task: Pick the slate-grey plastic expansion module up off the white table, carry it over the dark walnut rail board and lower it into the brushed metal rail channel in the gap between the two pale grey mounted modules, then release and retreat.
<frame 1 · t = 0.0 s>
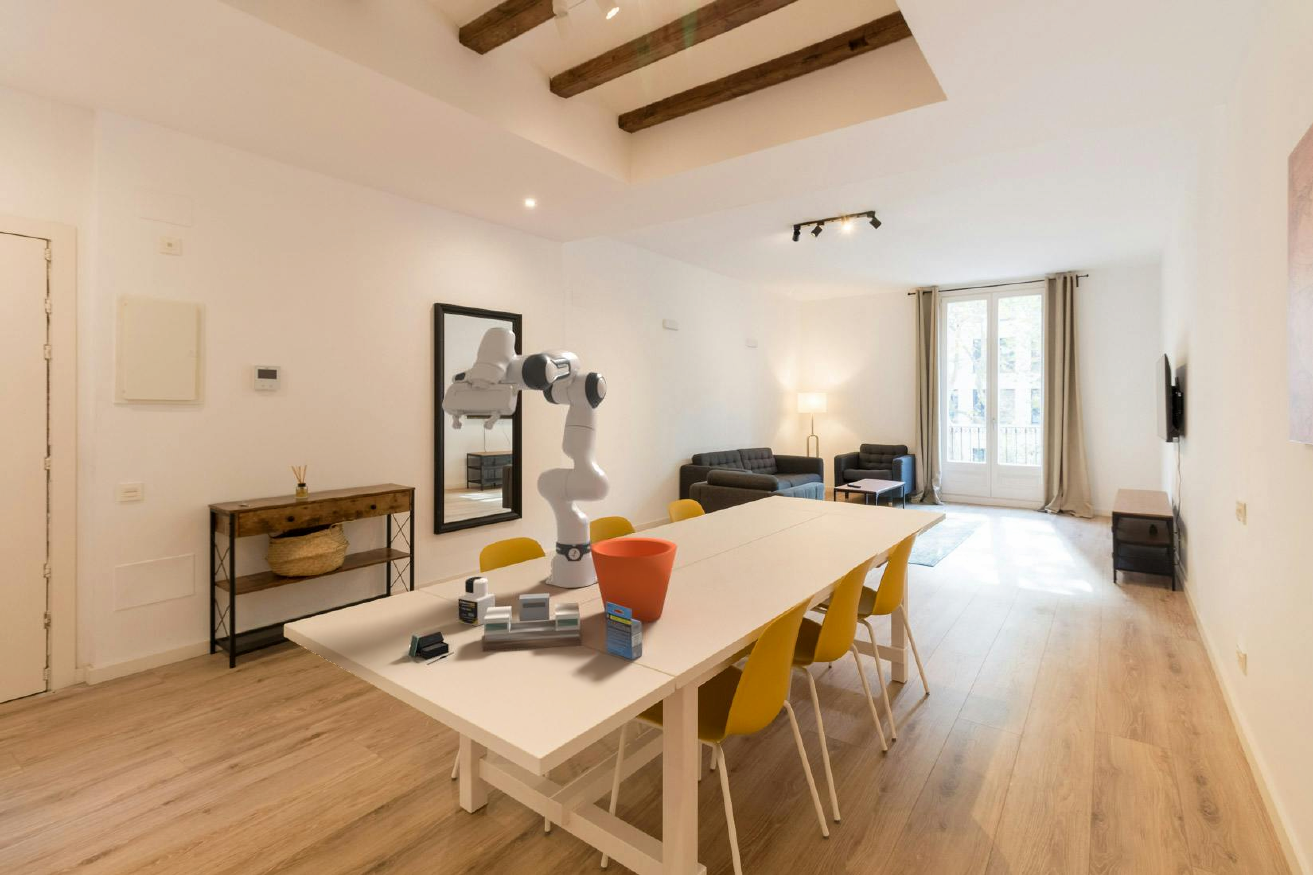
hand: (471, 428, 156), 54 cm above the table, tool tilted 30°, fingers open, 8 cm apart
expansion module: (534, 624, 170), on the table
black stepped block: (432, 655, 150), on the table
label tape box: (623, 654, 150), on the table
medicine bottle: (477, 621, 173), on the table
rail board: (533, 639, 159), on the table
flowerpot: (633, 614, 178), on the table
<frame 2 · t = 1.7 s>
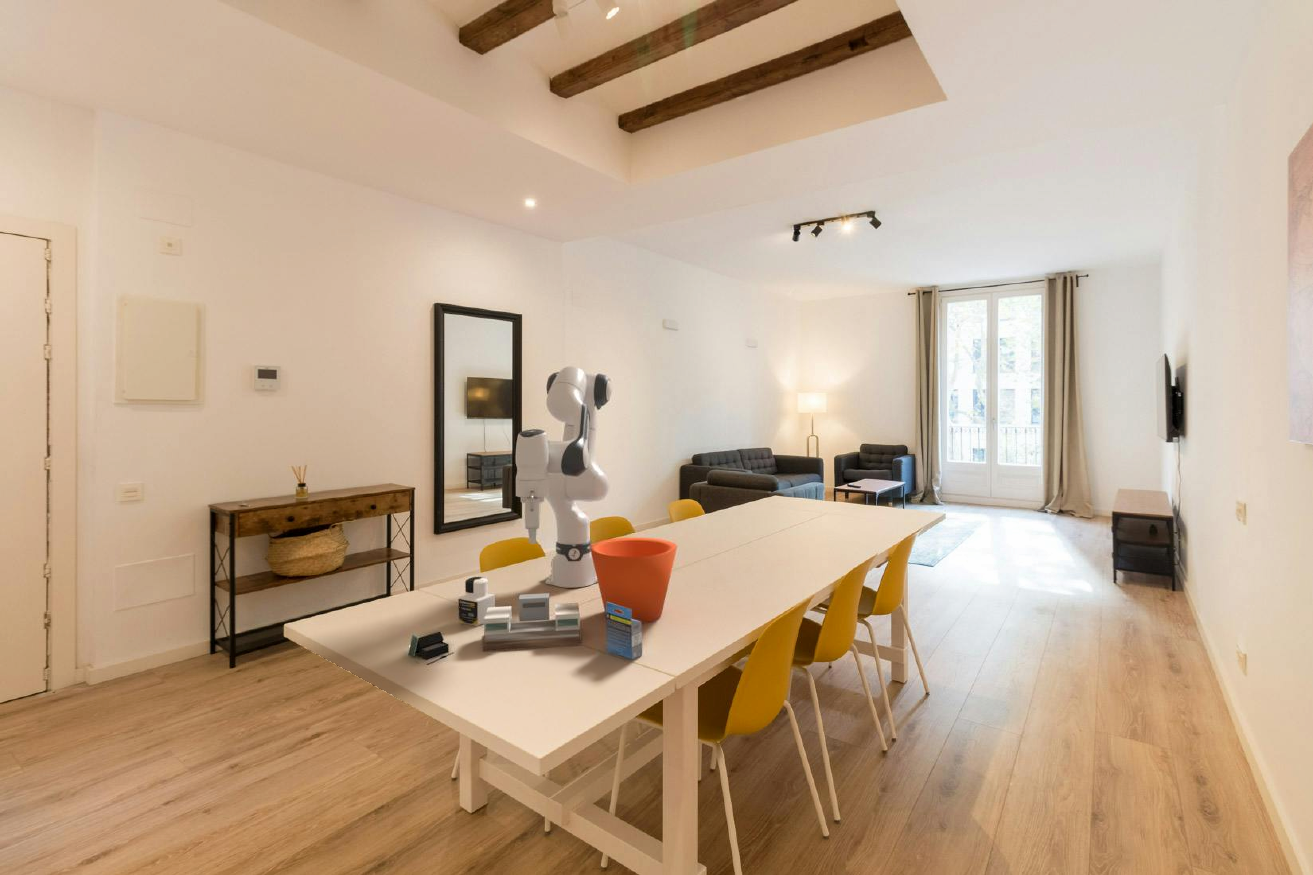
hand: (532, 539, 169), 24 cm above the table, tool pointing down, fingers open, 8 cm apart
nothing on the table moved.
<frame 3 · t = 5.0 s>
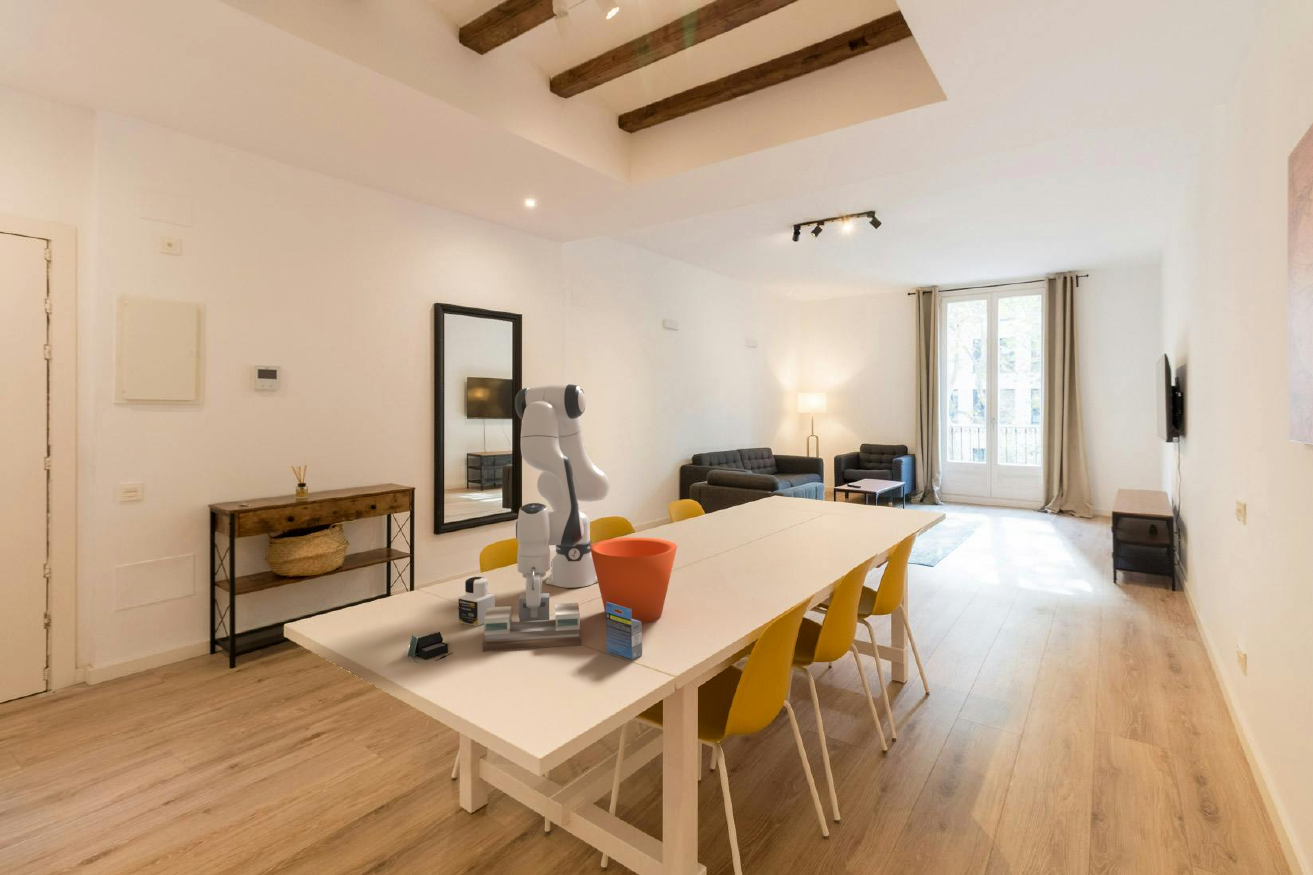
hand: (534, 613, 170), 3 cm above the table, tool pointing down, fingers closed on expansion module, 4 cm apart
expansion module: (534, 624, 170), on the table, touching gripper
everything else where it was.
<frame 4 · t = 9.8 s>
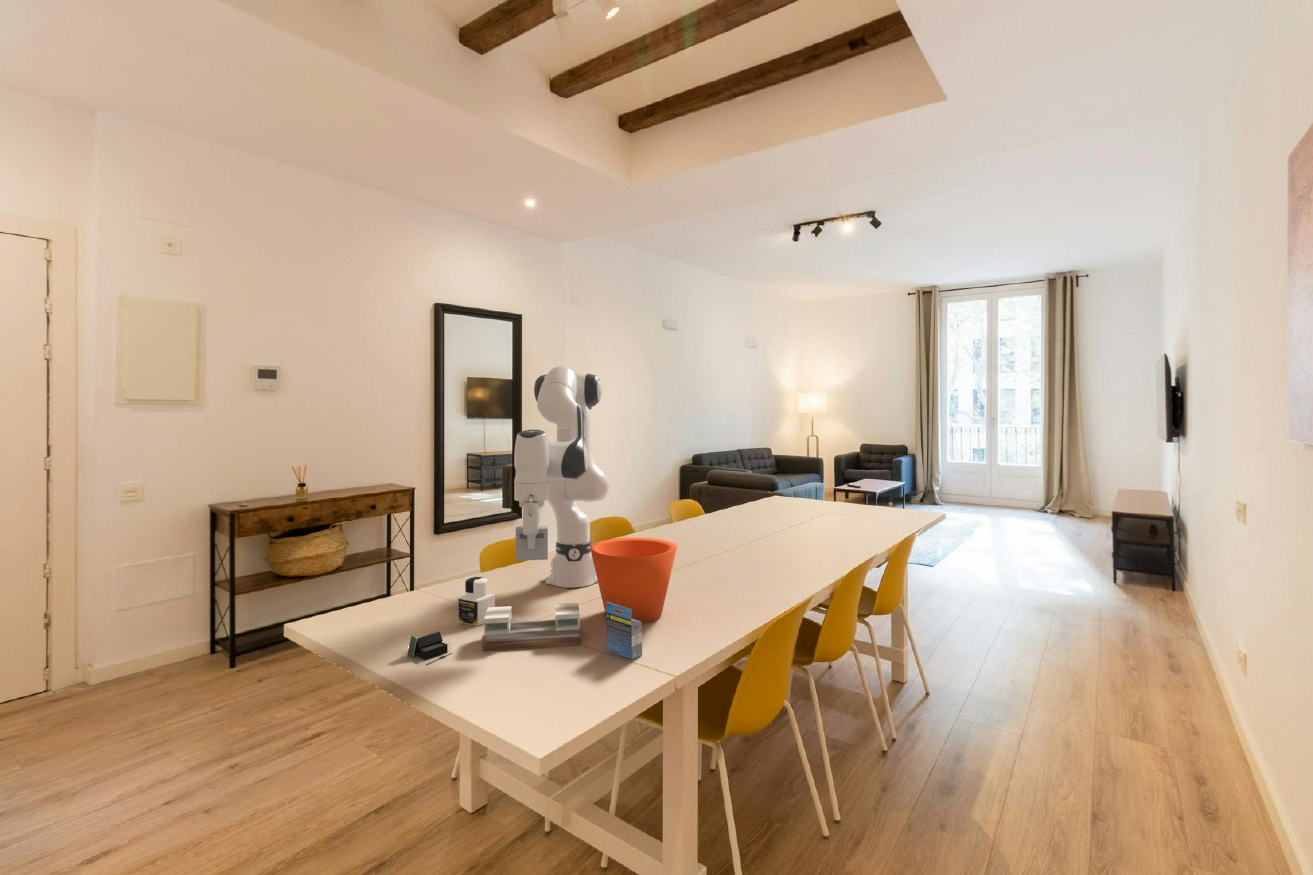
hand: (532, 546, 160), 24 cm above the table, tool pointing down, fingers closed on expansion module, 4 cm apart
expansion module: (532, 558, 160), point 21 cm above the table, touching gripper
everything else where it was.
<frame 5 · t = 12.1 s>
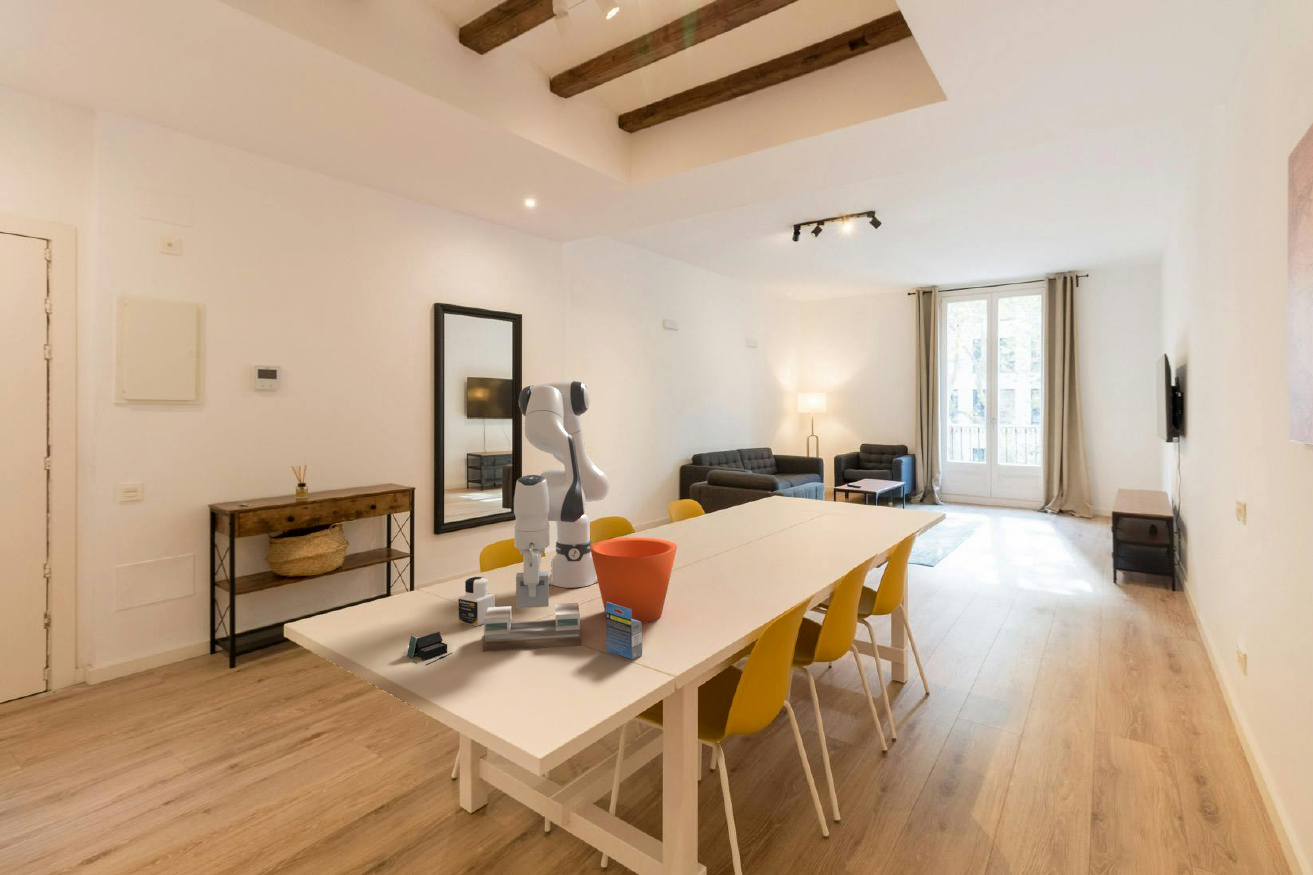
hand: (532, 592, 159), 12 cm above the table, tool pointing down, fingers closed on expansion module, 4 cm apart
expansion module: (532, 604, 159), point 9 cm above the table, touching gripper
everything else where it was.
when the fingers open (7 cm above the table, at t = 14.4 s): expansion module drops 1 cm, resting on rail board.
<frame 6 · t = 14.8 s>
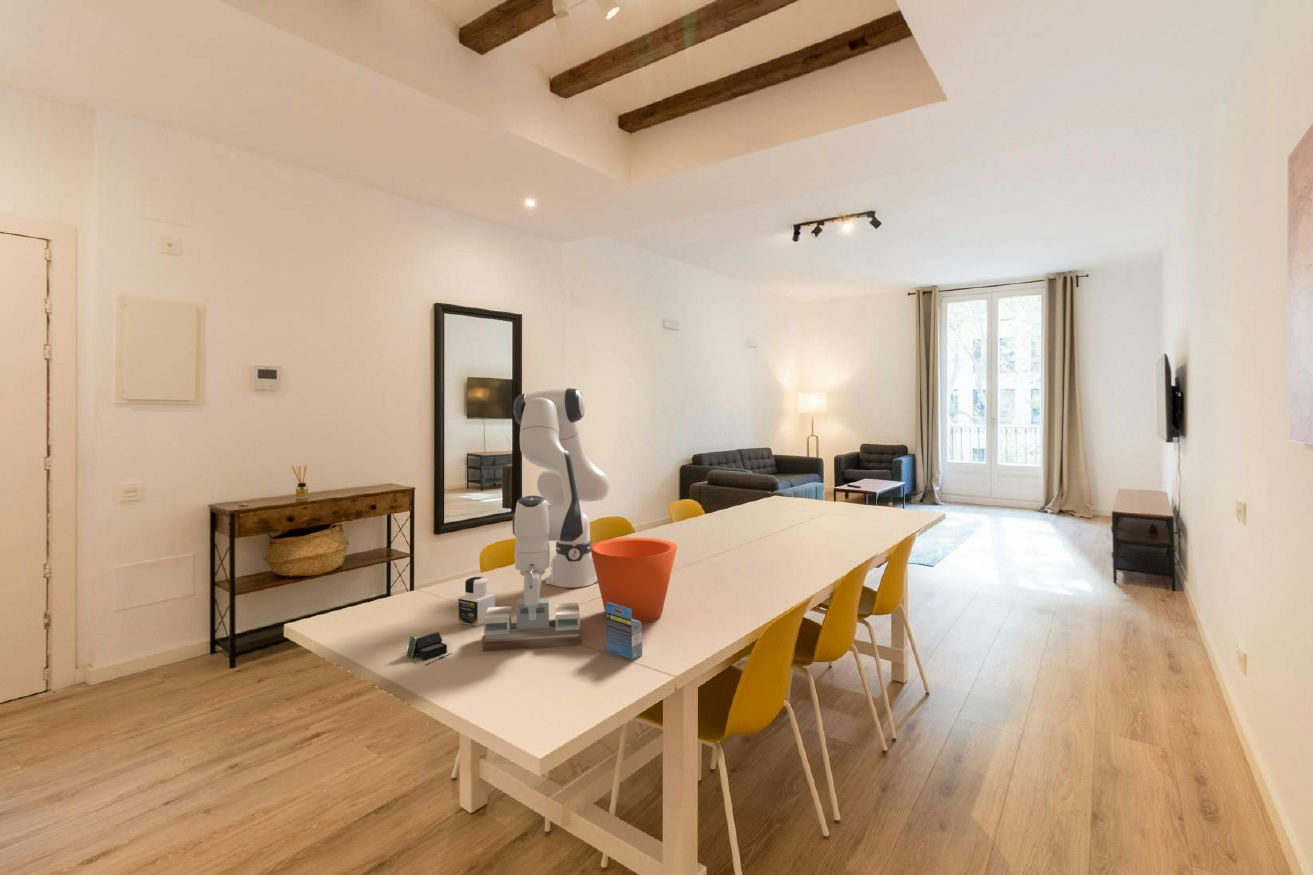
hand: (533, 613, 159), 7 cm above the table, tool pointing down, fingers open, 8 cm apart
expansion module: (533, 631, 159), point 2 cm above the table, touching rail board
everything else where it was.
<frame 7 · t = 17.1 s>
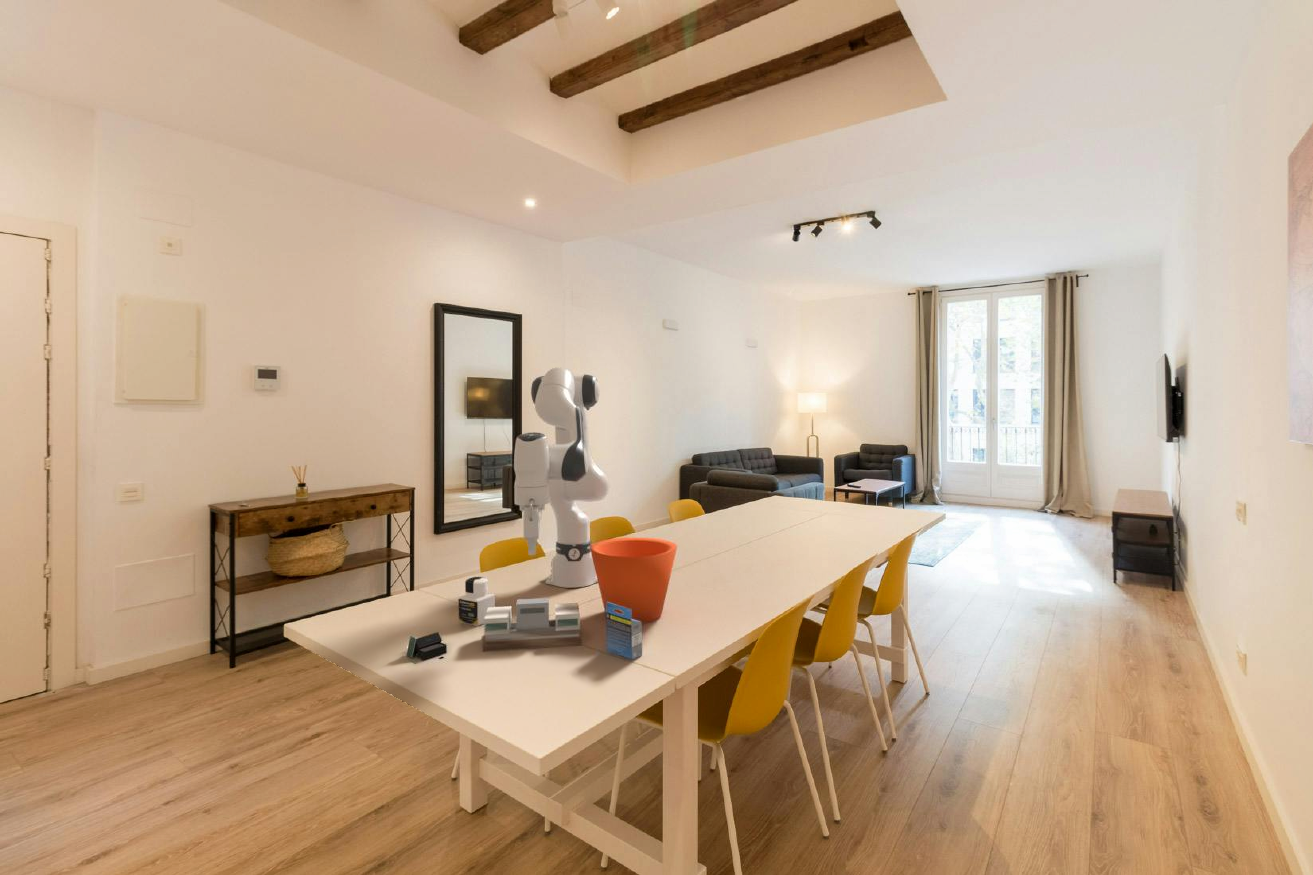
hand: (532, 550, 158), 23 cm above the table, tool pointing down, fingers open, 8 cm apart
nothing on the table moved.
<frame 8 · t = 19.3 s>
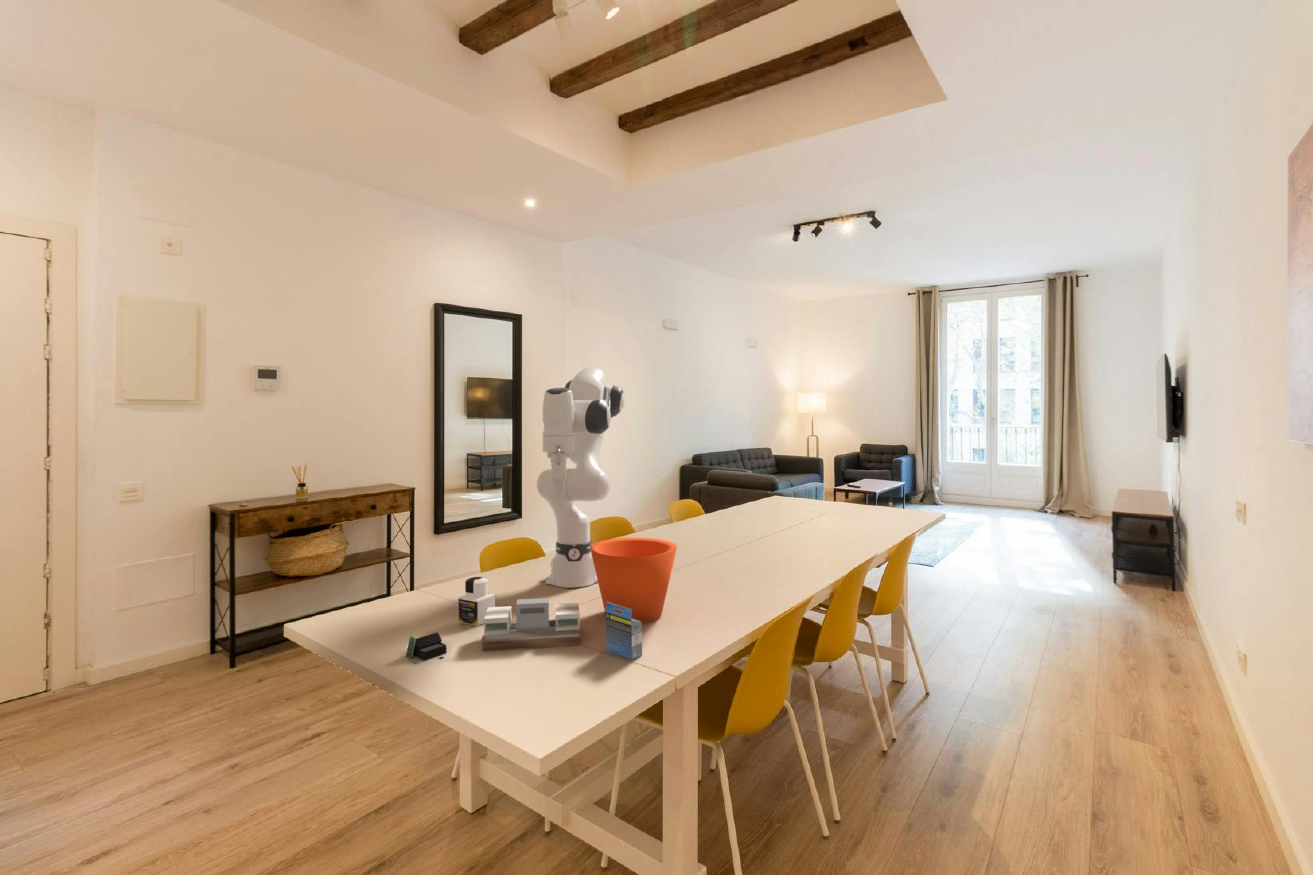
hand: (559, 494, 174), 35 cm above the table, tool pointing down, fingers open, 8 cm apart
nothing on the table moved.
at the end: expansion module 0.5 cm off-centre on the rail board, point 2.1 cm above the rail board's base; expansion module tilted 0°; the gripper is holding nothing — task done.
